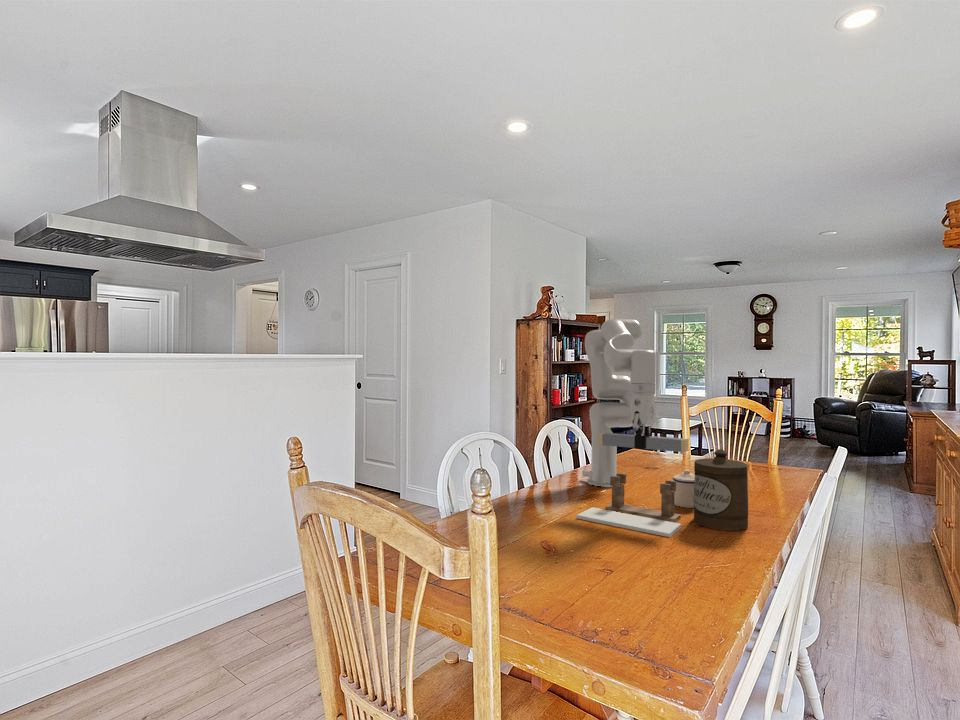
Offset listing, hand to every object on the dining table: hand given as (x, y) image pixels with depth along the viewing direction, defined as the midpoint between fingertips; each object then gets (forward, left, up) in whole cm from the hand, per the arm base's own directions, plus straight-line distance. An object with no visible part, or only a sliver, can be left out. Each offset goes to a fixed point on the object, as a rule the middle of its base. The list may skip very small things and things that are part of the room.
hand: (642, 446), depth 170 cm
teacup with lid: (+8, +21, -21) cm, 31 cm away
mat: (0, -12, -21) cm, 24 cm away
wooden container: (+22, +5, -21) cm, 31 cm away
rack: (0, 0, -21) cm, 21 cm away
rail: (0, 0, 0) cm, 0 cm away
